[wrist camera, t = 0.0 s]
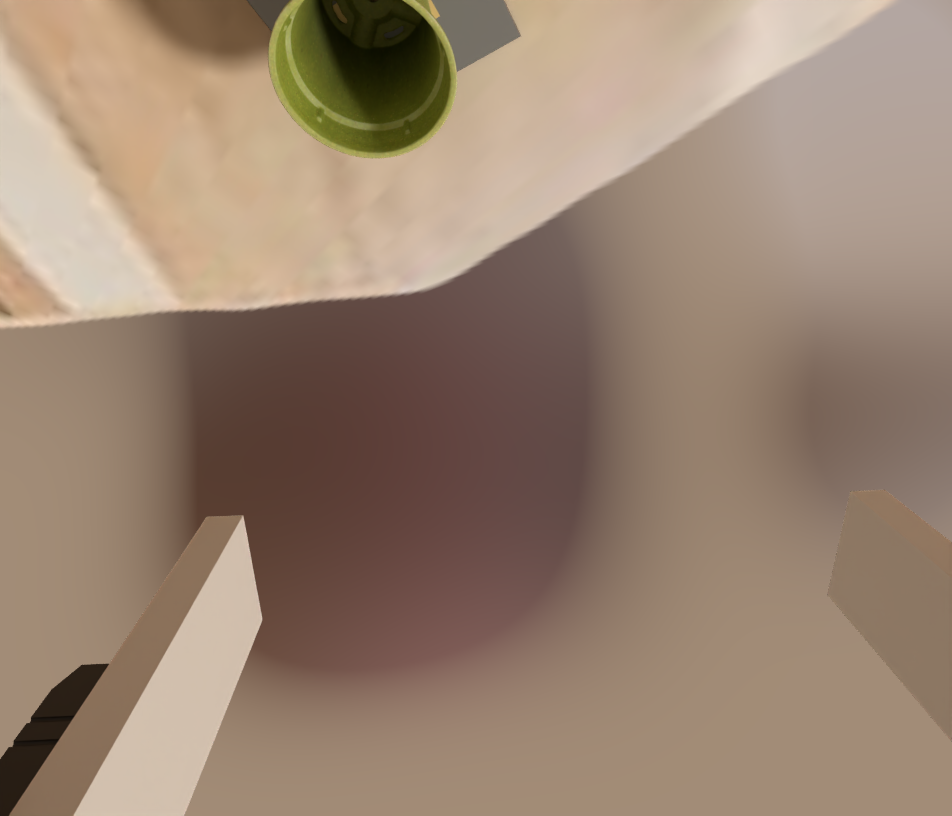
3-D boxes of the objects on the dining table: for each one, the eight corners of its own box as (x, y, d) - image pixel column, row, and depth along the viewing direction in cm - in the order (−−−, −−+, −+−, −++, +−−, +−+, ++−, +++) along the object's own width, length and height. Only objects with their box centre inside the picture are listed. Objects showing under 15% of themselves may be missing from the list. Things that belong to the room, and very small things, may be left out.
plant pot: (352, 96, 42) (343, 183, 38) (251, -47, 35) (226, 39, 31) (479, 29, 39) (487, 115, 35) (397, -144, 32) (393, -64, 27)
